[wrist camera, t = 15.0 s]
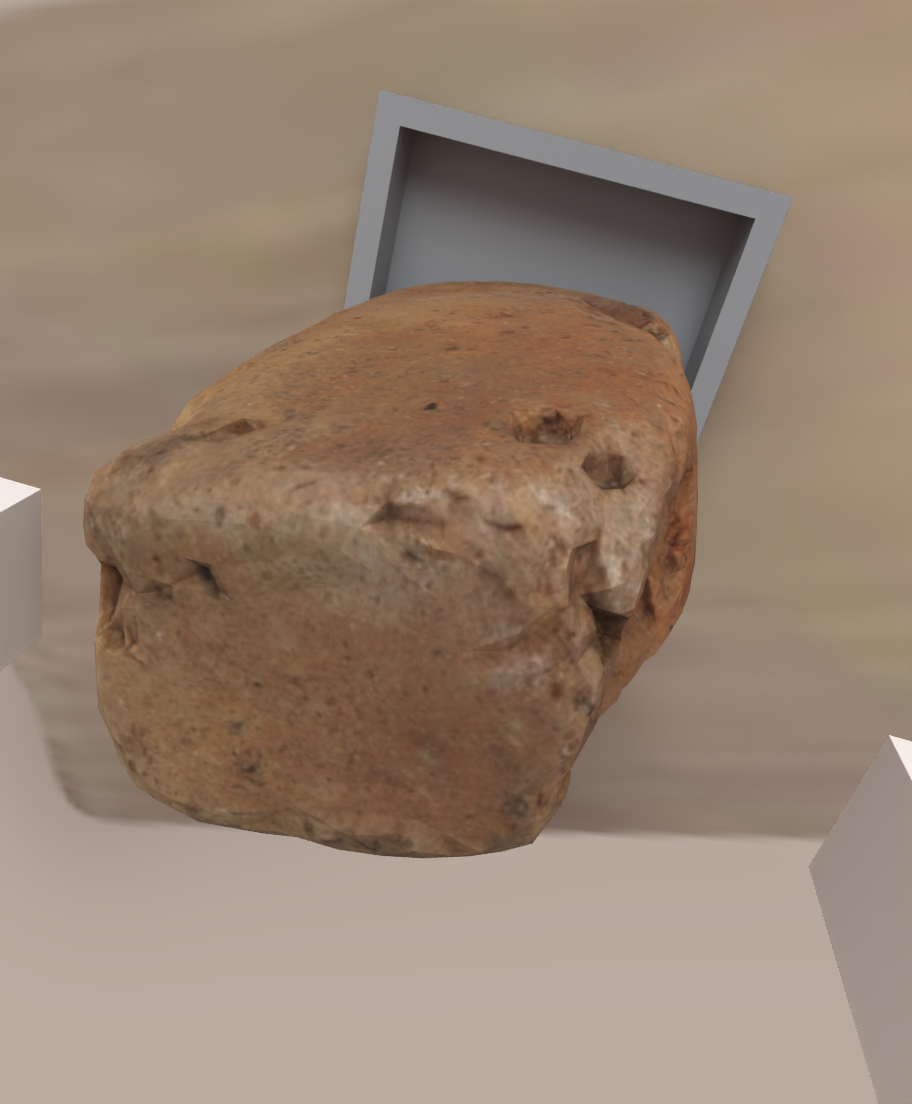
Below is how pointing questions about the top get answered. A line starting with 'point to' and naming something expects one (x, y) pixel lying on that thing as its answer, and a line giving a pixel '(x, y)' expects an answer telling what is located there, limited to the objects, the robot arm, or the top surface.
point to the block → (398, 567)
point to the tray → (561, 225)
